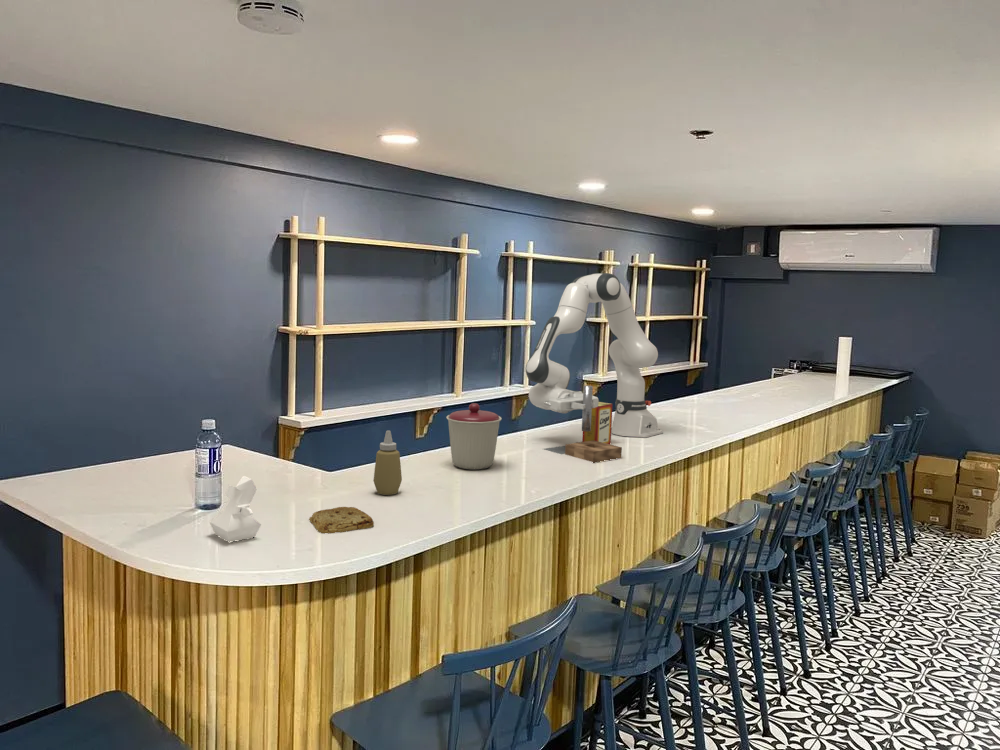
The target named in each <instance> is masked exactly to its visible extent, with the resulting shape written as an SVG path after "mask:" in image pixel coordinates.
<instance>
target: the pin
mask: <svg viewBox="0 0 1000 750" xmlns="http://www.w3.org/2000/svg"><path fill="white" fill-rule="evenodd" d="M593 388H594V386H592V385H587V384H586V385H583V391H582V393H583V404H585V405H586V409H582V411H581V412H582V415H581V416H582V418H581V432H583V431H591V414H592V396H593Z"/></svg>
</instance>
